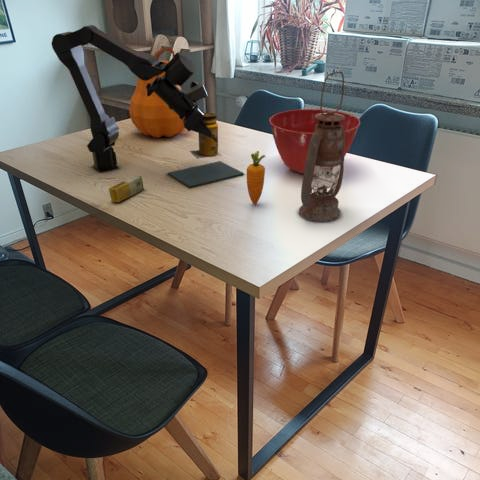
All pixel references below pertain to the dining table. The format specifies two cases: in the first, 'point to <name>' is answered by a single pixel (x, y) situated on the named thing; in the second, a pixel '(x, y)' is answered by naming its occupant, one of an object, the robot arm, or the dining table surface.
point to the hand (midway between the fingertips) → (209, 132)
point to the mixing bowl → (303, 134)
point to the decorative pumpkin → (154, 109)
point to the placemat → (205, 174)
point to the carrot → (255, 178)
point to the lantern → (324, 166)
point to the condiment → (208, 138)
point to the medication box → (126, 189)
